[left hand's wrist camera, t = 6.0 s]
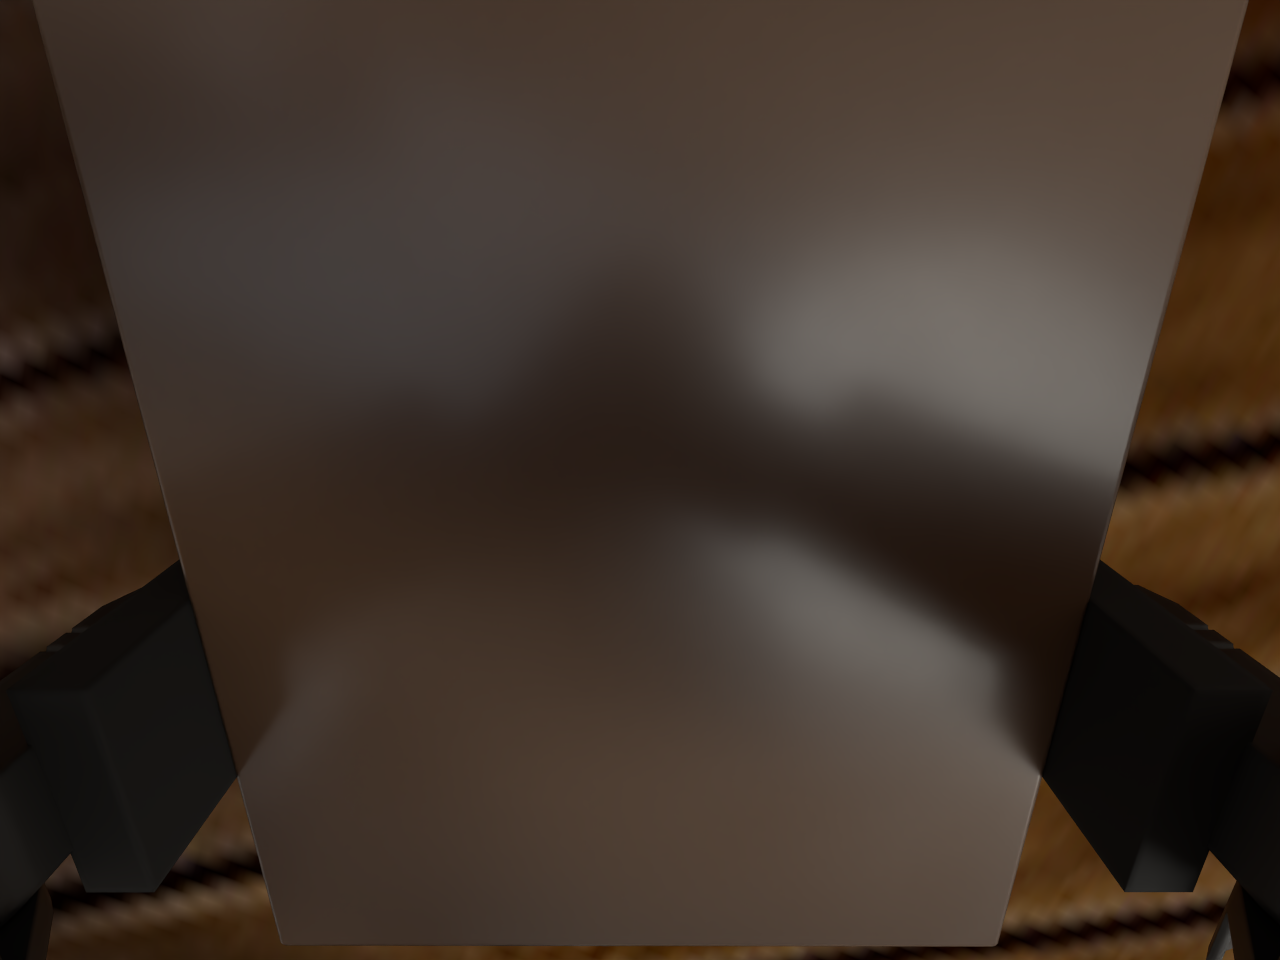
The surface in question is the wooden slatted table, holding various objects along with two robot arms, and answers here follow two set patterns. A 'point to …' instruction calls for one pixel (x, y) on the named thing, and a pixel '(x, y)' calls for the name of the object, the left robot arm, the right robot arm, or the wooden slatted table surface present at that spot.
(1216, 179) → the wooden slatted table surface
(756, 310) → the cabinet
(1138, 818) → the left robot arm
